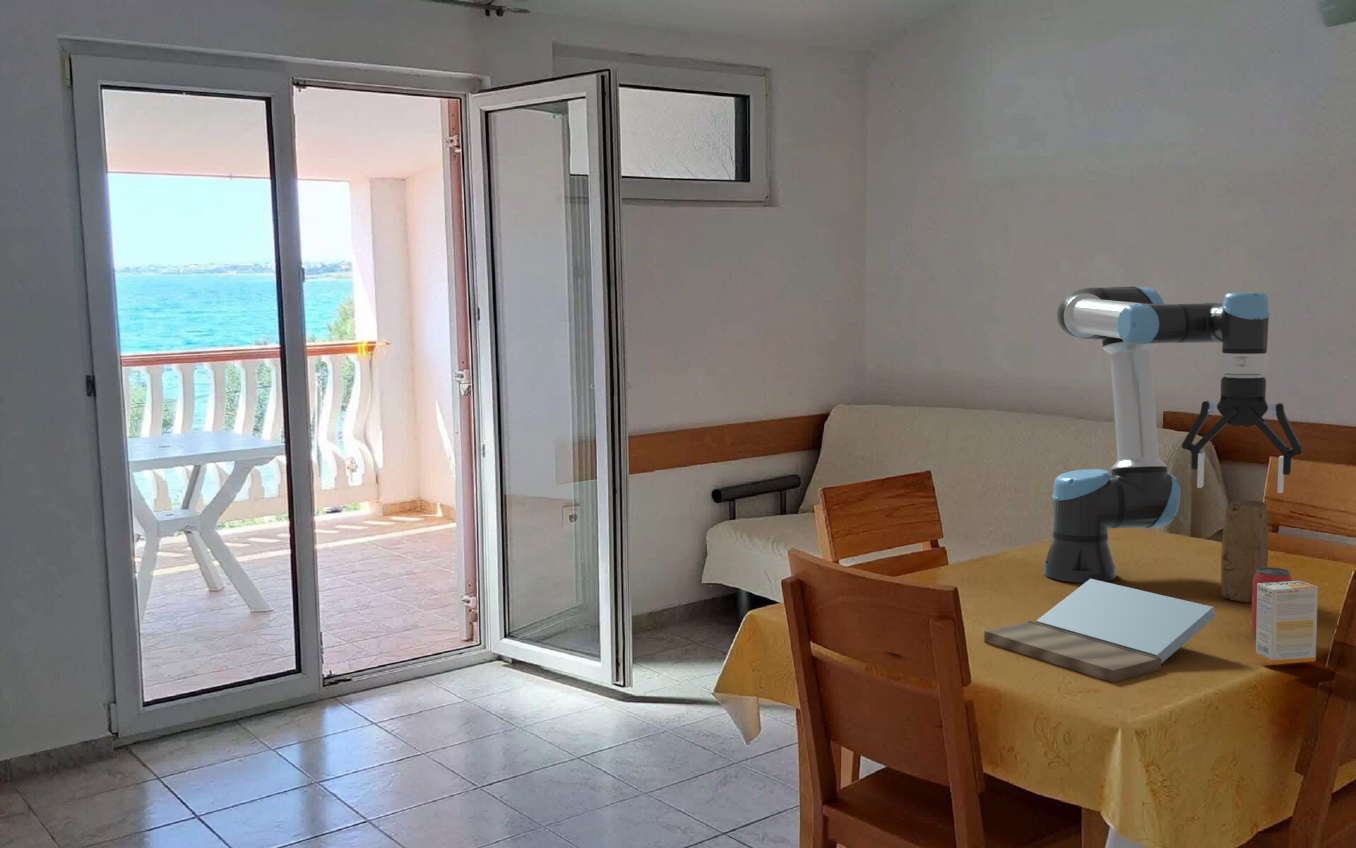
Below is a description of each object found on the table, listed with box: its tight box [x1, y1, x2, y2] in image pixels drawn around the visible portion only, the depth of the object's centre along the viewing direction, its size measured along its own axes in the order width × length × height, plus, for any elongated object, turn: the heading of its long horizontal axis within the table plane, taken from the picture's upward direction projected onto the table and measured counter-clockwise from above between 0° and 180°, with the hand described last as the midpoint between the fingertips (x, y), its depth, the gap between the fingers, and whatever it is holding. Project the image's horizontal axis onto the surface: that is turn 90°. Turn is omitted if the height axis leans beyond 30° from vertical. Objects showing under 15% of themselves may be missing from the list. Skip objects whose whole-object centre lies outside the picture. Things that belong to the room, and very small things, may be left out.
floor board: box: [983, 620, 1162, 683], centre depth 203 cm, size 28×12×2 cm, turn 31°
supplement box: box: [1255, 580, 1319, 665], centre depth 198 cm, size 8×5×13 cm, turn 97°
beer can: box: [1250, 566, 1293, 636], centre depth 213 cm, size 7×7×12 cm
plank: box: [1035, 579, 1216, 664], centre depth 210 cm, size 26×16×2 cm, turn 31°
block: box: [1220, 499, 1269, 603], centre depth 240 cm, size 11×8×20 cm
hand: (1239, 489), depth 219 cm, fingers open, 13 cm apart
